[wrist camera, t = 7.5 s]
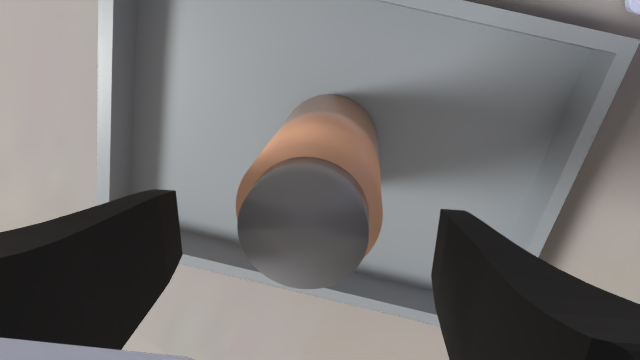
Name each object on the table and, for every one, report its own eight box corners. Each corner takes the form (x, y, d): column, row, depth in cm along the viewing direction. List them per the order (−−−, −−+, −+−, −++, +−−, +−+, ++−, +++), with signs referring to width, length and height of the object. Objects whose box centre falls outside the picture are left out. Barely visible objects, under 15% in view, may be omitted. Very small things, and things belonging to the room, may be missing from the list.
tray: (605, 36, 17) (641, 40, 15) (485, 307, 23) (498, 340, 20) (133, -70, 18) (99, -82, 16) (123, 220, 23) (96, 243, 21)
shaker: (377, 91, 19) (383, 153, 11) (378, 185, 20) (385, 301, 12) (278, 96, 19) (211, 158, 11) (287, 187, 21) (234, 300, 13)
